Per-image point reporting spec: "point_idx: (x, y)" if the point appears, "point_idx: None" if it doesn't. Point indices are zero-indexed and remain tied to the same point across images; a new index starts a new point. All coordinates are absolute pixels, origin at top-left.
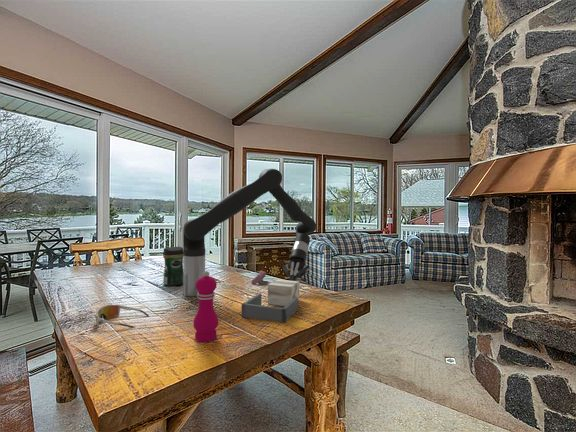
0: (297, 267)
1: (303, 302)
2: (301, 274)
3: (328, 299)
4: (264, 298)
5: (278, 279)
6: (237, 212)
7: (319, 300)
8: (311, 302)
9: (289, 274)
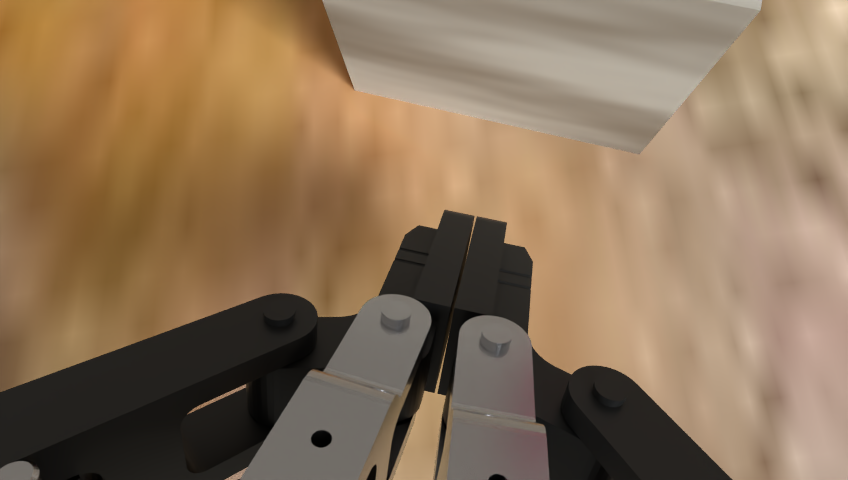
0: (277, 466)
1: (302, 11)
2: (223, 433)
3: (5, 162)
4: (787, 87)
5: (730, 1)
6: None
7: (116, 108)
8: (214, 24)
9: (548, 379)
